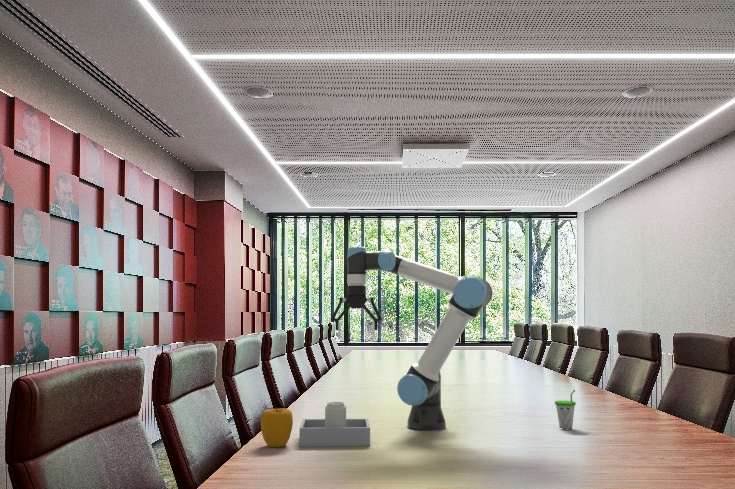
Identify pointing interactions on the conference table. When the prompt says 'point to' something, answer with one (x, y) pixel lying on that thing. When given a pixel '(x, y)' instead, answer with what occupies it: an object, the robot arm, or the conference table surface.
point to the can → (335, 415)
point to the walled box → (334, 433)
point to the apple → (276, 426)
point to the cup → (565, 413)
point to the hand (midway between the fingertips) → (356, 338)
